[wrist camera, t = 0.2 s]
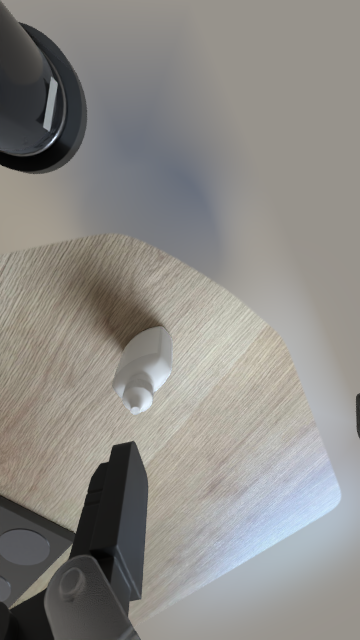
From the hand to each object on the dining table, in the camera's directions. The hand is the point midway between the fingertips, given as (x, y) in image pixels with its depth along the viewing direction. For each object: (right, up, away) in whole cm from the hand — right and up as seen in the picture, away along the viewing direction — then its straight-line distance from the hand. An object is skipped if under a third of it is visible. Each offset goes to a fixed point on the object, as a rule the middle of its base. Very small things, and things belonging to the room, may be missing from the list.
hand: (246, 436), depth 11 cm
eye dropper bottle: (-6, +2, +23) cm, 24 cm away
